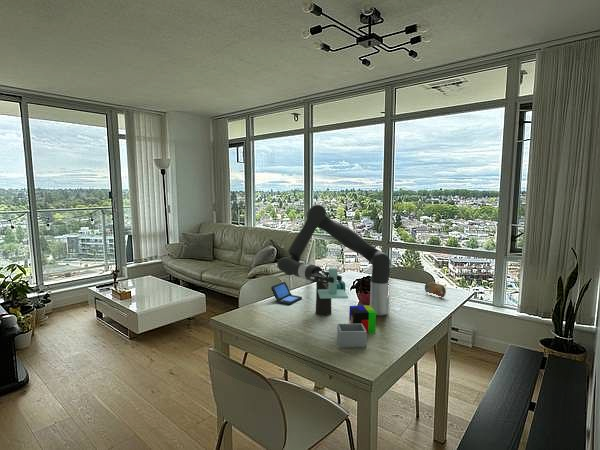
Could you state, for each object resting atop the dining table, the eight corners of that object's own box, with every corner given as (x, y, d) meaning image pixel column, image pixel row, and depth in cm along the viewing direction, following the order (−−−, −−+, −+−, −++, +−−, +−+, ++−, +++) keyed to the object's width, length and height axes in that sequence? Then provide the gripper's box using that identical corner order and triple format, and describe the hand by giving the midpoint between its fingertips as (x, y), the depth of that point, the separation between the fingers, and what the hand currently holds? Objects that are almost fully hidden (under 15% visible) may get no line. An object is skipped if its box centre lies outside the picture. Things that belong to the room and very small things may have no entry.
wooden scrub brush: (424, 293, 222) (424, 280, 221) (427, 292, 223) (428, 280, 222) (442, 299, 208) (443, 286, 208) (446, 299, 210) (447, 285, 209)
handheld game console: (289, 306, 196) (289, 290, 195) (270, 302, 202) (270, 287, 202) (303, 299, 209) (303, 284, 208) (284, 295, 216) (284, 281, 215)
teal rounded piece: (345, 293, 221) (345, 281, 221) (338, 295, 217) (338, 283, 216) (325, 287, 235) (325, 276, 234) (318, 289, 230) (318, 277, 229)
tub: (361, 338, 152) (361, 323, 151) (366, 347, 143) (366, 331, 143) (337, 338, 152) (337, 323, 151) (340, 348, 143) (340, 332, 142)
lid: (343, 291, 157) (344, 265, 155) (347, 298, 147) (348, 271, 146) (317, 291, 156) (318, 265, 155) (320, 298, 146) (320, 270, 145)
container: (330, 316, 179) (331, 279, 177) (313, 315, 181) (314, 278, 179) (332, 311, 187) (333, 275, 185) (316, 309, 189) (316, 274, 187)
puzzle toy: (349, 325, 167) (349, 305, 166) (369, 325, 168) (369, 305, 167) (354, 334, 157) (354, 313, 156) (375, 333, 158) (375, 312, 157)
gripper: (298, 266, 156) (326, 273, 143) (320, 262, 166) (348, 268, 153) (298, 282, 157) (326, 291, 144) (320, 277, 166) (347, 285, 154)
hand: (337, 279), depth 149 cm, fingers closed on lid, 4 cm apart
